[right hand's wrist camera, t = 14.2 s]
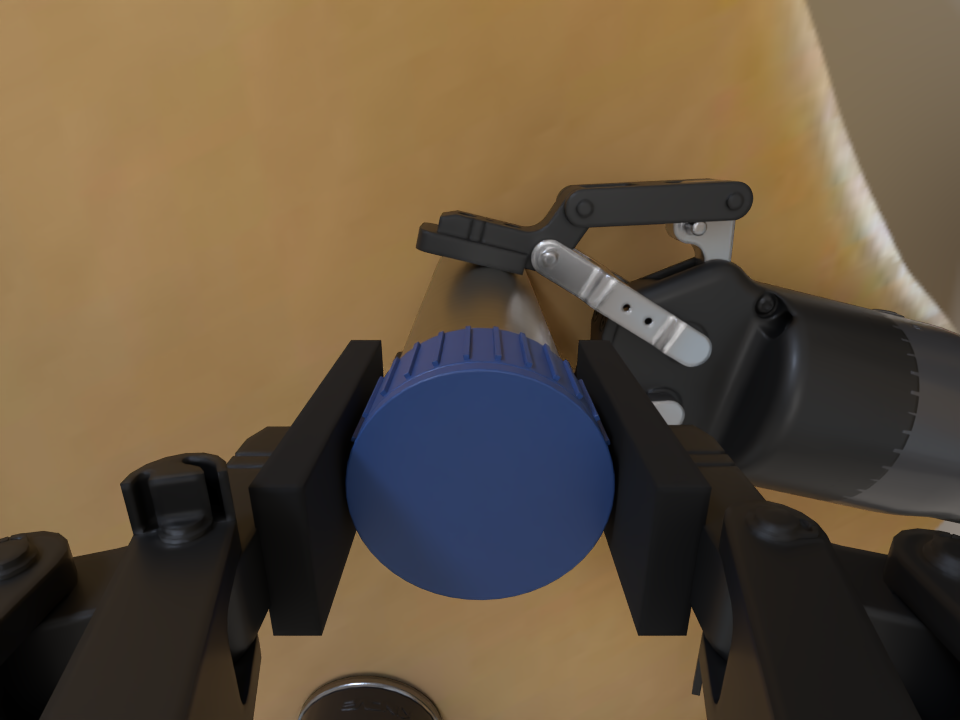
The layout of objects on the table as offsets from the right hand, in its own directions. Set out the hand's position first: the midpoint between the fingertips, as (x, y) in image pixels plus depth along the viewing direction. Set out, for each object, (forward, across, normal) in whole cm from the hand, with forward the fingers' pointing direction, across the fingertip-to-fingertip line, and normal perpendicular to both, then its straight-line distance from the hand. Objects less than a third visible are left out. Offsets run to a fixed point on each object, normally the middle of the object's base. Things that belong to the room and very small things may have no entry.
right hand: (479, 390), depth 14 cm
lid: (-4, 0, 0) cm, 4 cm away
